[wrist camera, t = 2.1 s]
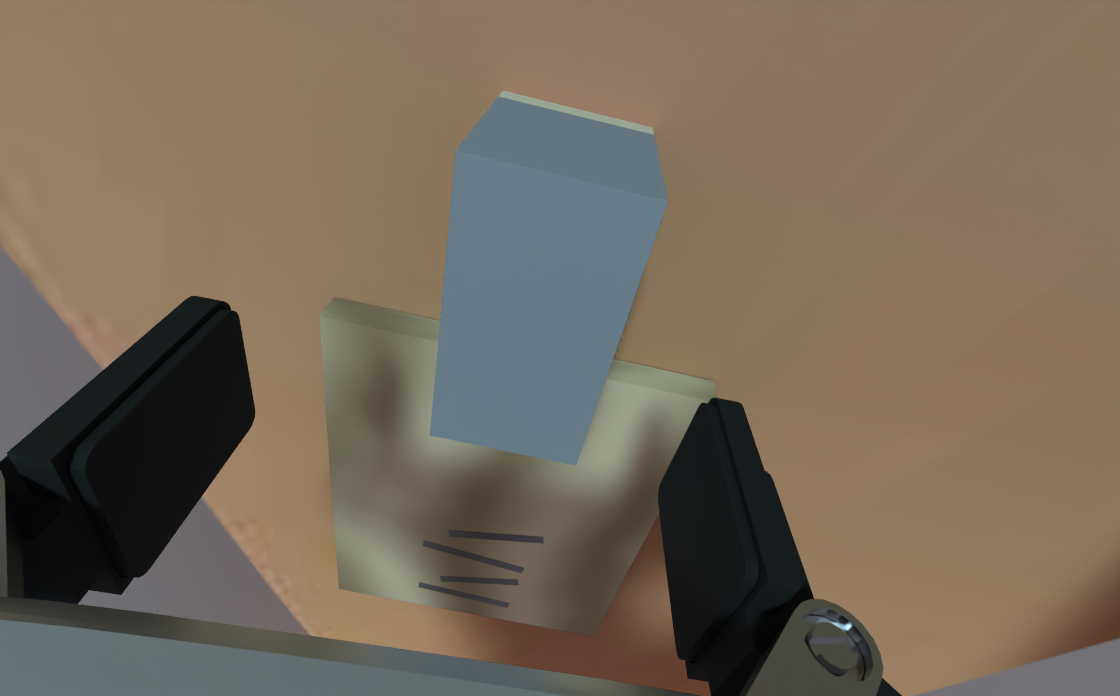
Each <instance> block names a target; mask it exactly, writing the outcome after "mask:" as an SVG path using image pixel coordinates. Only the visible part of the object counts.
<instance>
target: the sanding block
mask: <svg viewBox="0 0 1120 696" xmlns="http://www.w3.org/2000/svg"><path fill="white" fill-rule="evenodd" d="M667 203H668V199H667V194H666V189H665V185H664V180H663V175H662V170H661V166H660V161H659V156H658V151H657V147H656V142H655V137H654V133H653V128H652V127H647V126H643V125H639V124H635V123H631V122H627V121H623V120H619V119H615V118H611V117H607V116H603V115H599V114H595V113H591V112H587V111H583V110H579V109H575V108H571V107H567V106H562V105H558V104H554V103H550V102H546V101H542V100H538V99H534V98H530V97H526V96H522V95H518V94H514V93H510V92H506V91H502V93H501V94H500V95H499V96H498V98H497V99H496V100H495V101H494V103H493V104H492V105H491V106H490V108H489V109H488V110H487V112H486V113H485V114H484V115H483V117H482V118H481V119H480V120H479V122H478V123H477V124H476V126H475V127H474V128H473V129H472V131H471V132H470V133H469V134H468V136H467V137H466V138H465V140H464V141H463V142H462V143H461V145H460V146H459V147H458V148H457V150H456V154H455V165H454V176H453V187H452V198H451V209H450V220H449V231H448V241H447V252H446V263H445V274H444V285H443V296H442V307H441V318H440V329H439V339H438V350H437V361H436V372H435V383H434V394H433V405H432V416H431V427H430V436H435V437H440V438H444V439H449V440H454V441H459V442H464V443H469V444H474V445H478V446H483V447H488V448H493V449H498V450H503V451H507V452H512V453H517V454H522V455H527V456H532V457H537V458H541V459H546V460H551V461H556V462H561V463H566V464H570V465H575V466H576V464H577V462H578V459H579V456H580V453H581V450H582V447H583V444H584V441H585V439H586V436H587V433H588V430H589V427H590V424H591V421H592V418H593V416H594V413H595V410H596V407H597V404H598V401H599V398H600V395H601V393H602V390H603V387H604V384H605V381H606V378H607V375H608V372H609V370H610V367H611V364H612V361H613V358H614V355H615V352H616V349H617V347H618V344H619V341H620V338H621V335H622V332H623V329H624V326H625V324H626V321H627V318H628V315H629V312H630V309H631V306H632V303H633V301H634V298H635V295H636V292H637V289H638V286H639V283H640V280H641V278H642V275H643V272H644V269H645V266H646V263H647V260H648V257H649V254H650V252H651V249H652V246H653V243H654V240H655V237H656V234H657V231H658V229H659V226H660V223H661V220H662V217H663V214H664V211H665V208H666V206H667Z"/></svg>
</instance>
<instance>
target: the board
mask: <svg viewBox="0 0 1120 696" xmlns="http://www.w3.org/2000/svg"><path fill="white" fill-rule="evenodd" d="M319 322H320V336H321V349H322V363H323V377H324V390H325V404H326V417H327V431H328V445H329V458H330V472H331V485H332V499H333V513H334V526H335V540H336V553H337V567H338V581H339V589H342V590H348V591H353V592H358V593H364V594H369V595H374V596H380V597H385V598H390V599H396V600H401V601H406V602H412V603H417V604H422V605H427V606H433V607H438V608H443V609H449V610H454V611H459V612H465V613H470V614H475V615H481V616H486V617H491V618H497V619H502V620H507V621H513V622H518V623H523V624H528V625H534V626H539V627H544V628H550V629H555V630H560V631H566V632H571V633H576V634H582V635H587V636H592V637H593V636H594V634H595V633H596V631H597V629H598V627H599V625H600V623H601V621H602V619H603V618H604V616H605V614H606V612H607V610H608V608H609V606H610V605H611V603H612V601H613V599H614V597H615V595H616V593H617V592H618V590H619V588H620V586H621V584H622V582H623V580H624V578H625V577H626V575H627V573H628V571H629V569H630V567H631V565H632V564H633V562H634V560H635V558H636V556H637V554H638V552H639V550H640V549H641V547H642V545H643V543H644V541H645V539H646V537H647V536H648V534H649V532H650V530H651V528H652V526H653V524H654V522H655V521H656V519H657V517H658V515H659V506H658V490H659V486H660V483H661V481H662V479H663V477H664V475H665V473H666V471H667V469H668V467H669V465H670V463H671V461H672V459H673V457H674V455H675V453H676V451H677V449H678V447H679V445H680V443H681V441H682V439H683V437H684V435H685V433H686V431H687V429H688V427H689V425H690V423H691V421H692V419H693V417H694V415H695V413H696V411H697V409H698V407H699V405H700V404H701V403H708V402H709V400H710V399H712V398H717V394H716V390H715V386H714V381H711V380H706V379H702V378H697V377H693V376H688V375H684V374H679V373H674V372H670V371H665V370H661V369H656V368H652V367H647V366H643V365H638V364H634V363H629V362H625V361H620V360H615V359H613V361H612V364H611V367H610V370H609V372H608V375H607V378H606V381H605V384H604V387H603V390H602V393H601V395H600V398H599V401H598V404H597V407H596V410H595V413H594V416H593V418H592V421H591V424H590V427H589V430H588V433H587V436H586V439H585V441H584V444H583V447H582V450H581V453H580V456H579V459H578V462H577V464H576V466H575V465H570V464H566V463H561V462H556V461H551V460H546V459H541V458H537V457H532V456H527V455H522V454H517V453H512V452H507V451H503V450H498V449H493V448H488V447H483V446H478V445H474V444H469V443H464V442H459V441H454V440H449V439H444V438H440V437H435V436H430V427H431V416H432V405H433V394H434V383H435V372H436V361H437V350H438V339H439V329H440V321H438V320H434V319H429V318H425V317H420V316H416V315H411V314H407V313H402V312H398V311H393V310H388V309H384V308H379V307H375V306H370V305H366V304H361V303H357V302H352V301H348V300H343V299H339V298H333V299H332V301H331V302H330V303H329V304H328V306H327V307H326V308H325V309H324V311H323V312H322V313H321V314H320V316H319Z"/></svg>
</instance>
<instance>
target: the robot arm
mask: <svg viewBox="0 0 1120 696" xmlns="http://www.w3.org/2000/svg"><path fill="white" fill-rule="evenodd" d="M254 418H255V406H254V400H253V395H252V389H251V383H250V377H249V372H248V366H247V360H246V354H245V349H244V343H243V337H242V331H241V326H240V320H239V316H238V314H237V312H235V311H231V308H230V306H229V304H228V303H226V302H224V301H219V300H214V299H209V298H204V297H199V296H191V297H189V298H187V299H186V300H185V301H183V302H182V303H181V304H180V305H179V306H178V307H176V308H175V309H174V310H173V311H172V312H171V313H169V314H168V315H167V316H166V317H165V318H164V319H162V320H161V321H160V322H159V323H158V324H157V325H155V326H154V327H153V328H152V329H151V330H150V331H148V332H147V333H146V334H145V335H144V336H143V337H141V338H140V339H139V340H138V341H137V342H136V343H134V344H133V345H132V346H131V347H130V348H129V349H127V350H126V351H125V352H124V353H123V354H122V355H120V356H119V357H118V358H117V359H116V360H115V361H113V362H112V363H111V364H110V365H109V366H108V367H106V368H105V369H104V370H103V371H102V372H101V373H99V374H98V375H97V376H96V377H95V378H94V379H92V380H91V381H90V382H89V383H88V384H87V385H85V386H84V387H83V388H82V389H81V390H80V391H79V392H77V393H76V394H75V395H74V396H73V397H71V398H70V399H69V400H68V401H67V402H66V403H65V404H63V405H62V406H61V407H60V408H59V409H58V410H56V411H55V412H54V413H53V414H52V415H50V416H49V417H48V418H47V419H46V420H45V421H43V422H42V423H41V424H40V425H39V426H38V427H36V428H35V429H34V430H33V431H32V432H31V433H30V434H29V435H27V436H26V437H25V438H24V439H22V440H21V441H20V442H19V443H18V444H17V445H15V446H14V447H13V448H12V449H11V450H10V451H9V452H7V454H8V455H7V456H6V457H5V458H4V459H3V460H2V461H0V696H699V695H694V694H689V693H683V692H677V691H671V690H665V689H659V688H653V687H648V686H642V685H636V684H630V683H624V682H618V681H612V680H606V679H599V678H593V677H586V676H579V675H573V674H566V673H559V672H553V671H546V670H539V669H533V668H526V667H520V666H513V665H506V664H500V663H493V662H486V661H480V660H473V659H466V658H459V657H453V656H446V655H439V654H432V653H425V652H418V651H412V650H405V649H398V648H391V647H384V646H377V645H370V644H363V643H357V642H350V641H343V640H336V639H329V638H322V637H315V636H308V635H301V634H294V633H286V632H280V631H272V630H266V629H258V628H252V627H244V626H237V625H230V624H223V623H216V622H208V621H201V620H194V619H187V618H180V617H173V616H166V615H159V614H151V613H144V612H136V611H128V610H120V609H112V608H104V607H96V606H87V605H79V604H78V603H79V602H80V600H81V599H82V598H83V597H84V595H85V594H86V593H87V592H88V590H92V591H99V592H106V593H112V594H119V595H121V594H122V593H123V592H124V590H125V589H126V588H127V586H128V585H129V584H130V582H131V581H132V579H133V578H134V577H138V578H139V577H141V576H143V575H144V574H145V573H146V572H147V571H148V570H149V569H150V568H151V566H152V565H153V563H154V562H155V560H156V559H157V558H158V556H159V555H160V554H161V552H162V551H163V550H164V548H165V547H166V545H167V544H168V543H169V541H170V540H171V538H172V537H173V535H174V534H175V533H176V531H177V530H178V528H179V527H180V525H181V524H182V523H183V521H184V520H185V519H186V517H187V516H188V515H189V513H190V512H191V510H192V509H193V508H194V506H195V505H196V503H197V502H198V500H199V499H200V498H201V496H202V495H203V494H204V492H205V491H206V489H207V488H208V487H209V485H210V484H211V482H212V481H213V480H214V478H215V477H216V475H217V474H218V473H219V471H220V470H221V468H222V467H223V466H224V464H225V463H226V462H227V460H228V459H229V457H230V456H231V455H232V453H233V452H234V450H235V449H236V448H237V446H238V445H239V443H240V442H241V441H242V439H243V438H244V436H245V435H246V434H247V432H248V431H249V429H250V428H251V426H252V424H253V421H254ZM658 506H659V514H660V522H661V530H662V539H663V547H664V555H665V563H666V571H667V579H668V588H669V596H670V604H671V612H672V620H673V628H674V637H675V645H676V651H677V655H678V657H679V658H680V659H682V660H685V662H686V669H687V677H688V679H695V680H702V681H709V687H710V693H711V696H902V695H900V694H899V693H898V692H897V691H896V690H895V689H894V688H893V687H892V686H890V685H889V684H888V683H887V682H886V681H885V680H884V679H883V678H882V673H883V664H882V659H881V655H880V652H879V650H878V648H877V645H876V643H875V641H874V639H873V638H872V636H871V635H870V634H869V632H868V631H867V630H866V628H865V627H864V626H863V624H862V623H860V622H859V621H858V620H857V619H856V618H855V617H854V616H853V615H852V614H851V613H849V612H848V611H846V610H845V609H843V608H842V607H840V606H839V605H837V604H834V603H831V602H829V601H826V600H821V599H814V597H813V594H812V591H811V588H810V586H809V583H808V580H807V577H806V574H805V571H804V568H803V565H802V562H801V559H800V557H799V554H798V551H797V548H796V545H795V542H794V539H793V536H792V533H791V531H790V528H789V525H788V522H787V519H786V516H785V513H784V510H783V507H782V504H781V502H780V499H779V496H778V493H777V490H776V487H775V484H774V481H773V479H772V477H771V475H770V474H769V473H767V472H766V471H764V468H763V465H762V462H761V459H760V456H759V453H758V450H757V447H756V444H755V441H754V438H753V435H752V432H751V429H750V426H749V423H748V420H747V417H746V414H745V411H744V408H743V406H742V404H741V403H739V402H735V401H730V400H725V399H719V398H712V399H710V400H709V402H708V403H701V404H700V405H699V407H698V409H697V411H696V413H695V415H694V417H693V419H692V421H691V423H690V425H689V427H688V429H687V431H686V433H685V435H684V437H683V439H682V441H681V443H680V445H679V447H678V449H677V451H676V453H675V455H674V457H673V459H672V461H671V463H670V465H669V467H668V469H667V471H666V473H665V475H664V477H663V479H662V481H661V483H660V486H659V490H658Z"/></svg>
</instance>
